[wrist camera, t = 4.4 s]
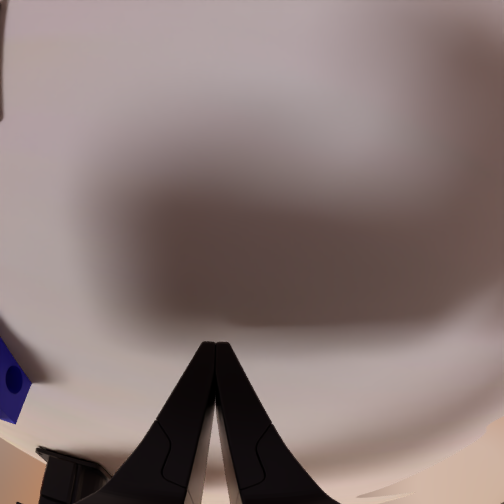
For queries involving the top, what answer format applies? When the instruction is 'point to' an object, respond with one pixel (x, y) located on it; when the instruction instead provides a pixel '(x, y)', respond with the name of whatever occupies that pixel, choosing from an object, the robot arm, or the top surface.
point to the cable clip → (11, 386)
